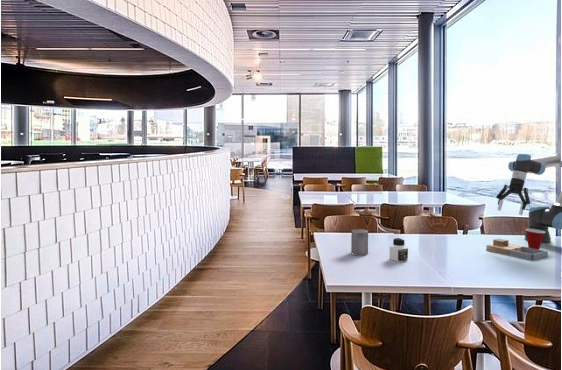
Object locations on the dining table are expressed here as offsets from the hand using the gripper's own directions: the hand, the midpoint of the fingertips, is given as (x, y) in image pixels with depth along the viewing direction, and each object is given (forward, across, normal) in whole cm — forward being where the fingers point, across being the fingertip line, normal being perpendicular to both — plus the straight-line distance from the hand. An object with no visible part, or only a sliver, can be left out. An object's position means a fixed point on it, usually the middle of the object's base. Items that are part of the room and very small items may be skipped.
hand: (509, 212), depth 276 cm
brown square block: (+20, +1, -2) cm, 21 cm away
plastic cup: (+18, +12, +17) cm, 27 cm away
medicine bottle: (+42, -15, -69) cm, 82 cm away
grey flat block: (+22, +18, -2) cm, 29 cm away
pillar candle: (+46, -38, -77) cm, 97 cm away
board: (+23, +4, -1) cm, 23 cm away
